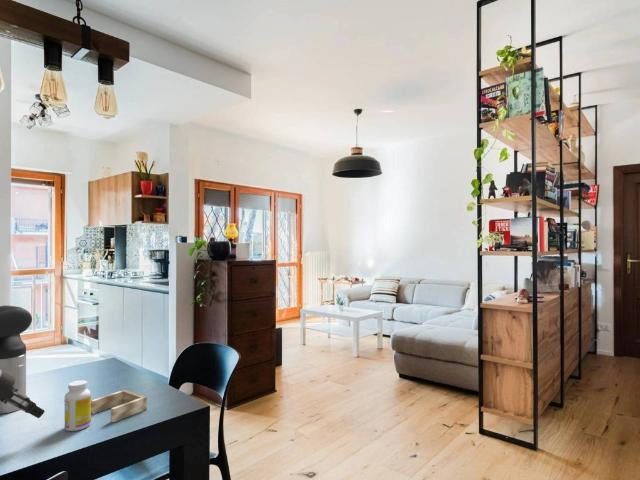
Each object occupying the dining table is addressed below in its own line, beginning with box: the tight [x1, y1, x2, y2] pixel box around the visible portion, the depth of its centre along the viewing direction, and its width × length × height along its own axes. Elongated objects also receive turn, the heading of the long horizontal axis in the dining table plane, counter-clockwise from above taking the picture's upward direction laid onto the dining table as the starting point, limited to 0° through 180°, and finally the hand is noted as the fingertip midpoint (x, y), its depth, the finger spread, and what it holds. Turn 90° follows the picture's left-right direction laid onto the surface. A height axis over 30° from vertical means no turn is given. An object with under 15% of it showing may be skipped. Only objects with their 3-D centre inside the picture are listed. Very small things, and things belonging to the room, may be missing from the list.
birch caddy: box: [91, 389, 148, 423], centre depth 129 cm, size 11×12×4 cm
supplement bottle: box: [64, 379, 92, 432], centre depth 118 cm, size 7×7×13 cm
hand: (40, 414), depth 110 cm, fingers closed
